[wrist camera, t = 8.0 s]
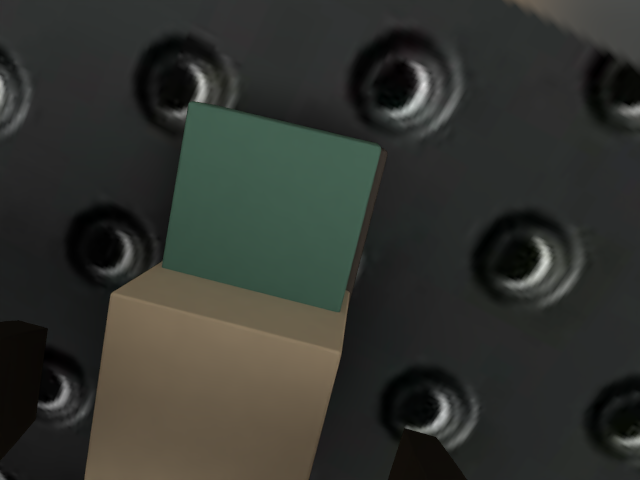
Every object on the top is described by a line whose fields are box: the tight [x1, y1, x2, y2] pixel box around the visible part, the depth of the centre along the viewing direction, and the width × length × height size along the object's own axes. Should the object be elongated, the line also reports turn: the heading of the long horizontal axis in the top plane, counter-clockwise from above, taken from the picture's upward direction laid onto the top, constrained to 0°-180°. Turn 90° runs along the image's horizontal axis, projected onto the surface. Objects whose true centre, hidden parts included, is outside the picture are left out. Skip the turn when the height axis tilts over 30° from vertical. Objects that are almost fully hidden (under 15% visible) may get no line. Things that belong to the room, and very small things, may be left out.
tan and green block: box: [84, 101, 387, 480], centre depth 11 cm, size 11×4×5 cm, turn 167°
